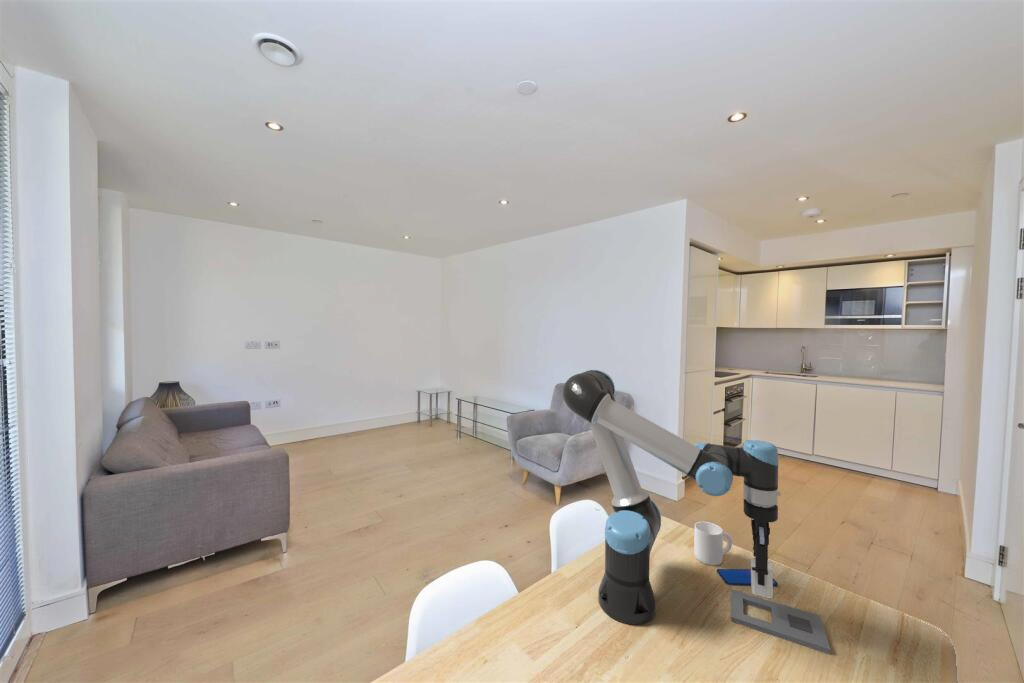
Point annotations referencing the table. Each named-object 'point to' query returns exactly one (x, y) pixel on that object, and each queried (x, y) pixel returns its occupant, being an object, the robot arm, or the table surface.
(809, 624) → the outlet plate
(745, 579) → the smartphone
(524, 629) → the table surface
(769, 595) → the charger
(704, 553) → the mug
